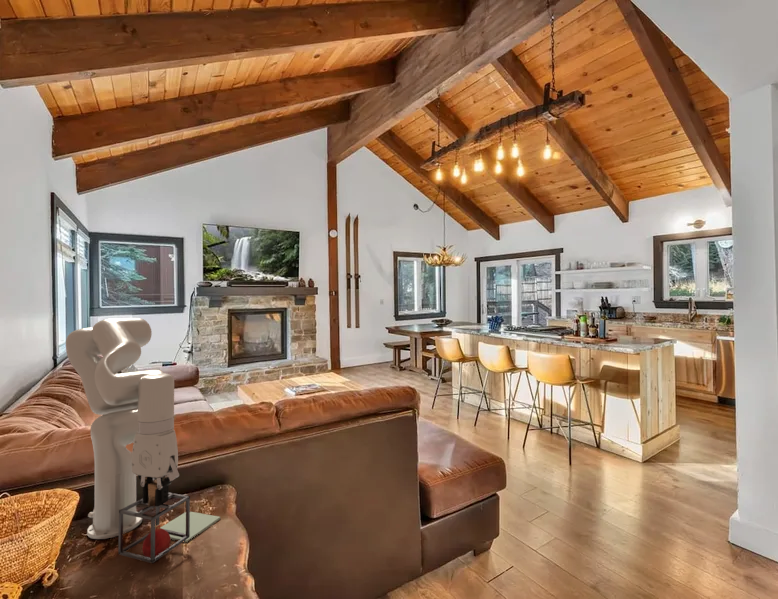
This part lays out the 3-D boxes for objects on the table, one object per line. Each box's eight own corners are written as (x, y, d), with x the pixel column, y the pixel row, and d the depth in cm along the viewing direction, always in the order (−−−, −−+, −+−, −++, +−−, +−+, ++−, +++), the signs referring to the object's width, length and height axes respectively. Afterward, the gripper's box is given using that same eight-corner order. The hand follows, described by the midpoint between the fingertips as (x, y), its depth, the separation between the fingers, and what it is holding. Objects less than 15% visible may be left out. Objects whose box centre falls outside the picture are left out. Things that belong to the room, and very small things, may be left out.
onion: (157, 569, 90) (157, 533, 90) (136, 566, 91) (136, 531, 91) (175, 553, 95) (175, 520, 96) (155, 551, 96) (155, 518, 97)
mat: (151, 535, 103) (151, 533, 103) (187, 513, 115) (187, 511, 115) (186, 542, 100) (186, 540, 100) (220, 518, 111) (220, 516, 111)
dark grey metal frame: (118, 554, 90) (119, 488, 90) (157, 529, 100) (158, 470, 100) (152, 563, 87) (153, 495, 87) (189, 537, 97) (189, 476, 97)
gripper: (116, 427, 93) (115, 504, 93) (169, 433, 88) (168, 515, 88) (144, 418, 100) (144, 490, 100) (195, 424, 95) (194, 500, 95)
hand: (155, 501), depth 94 cm, fingers closed on dark grey metal frame, 3 cm apart
